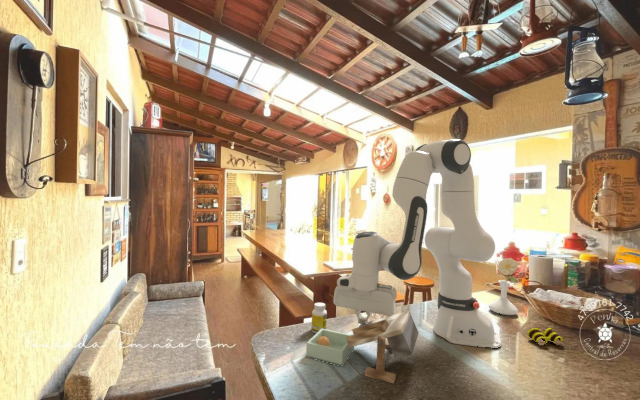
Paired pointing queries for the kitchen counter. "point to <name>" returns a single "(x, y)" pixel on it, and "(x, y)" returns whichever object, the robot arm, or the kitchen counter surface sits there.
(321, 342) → the ball
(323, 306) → the supplement bottle
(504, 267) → the flower in vase
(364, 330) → the lever
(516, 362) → the kitchen counter surface
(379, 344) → the lever stand
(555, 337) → the yellow black striped piece
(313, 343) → the green square tray
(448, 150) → the robot arm
